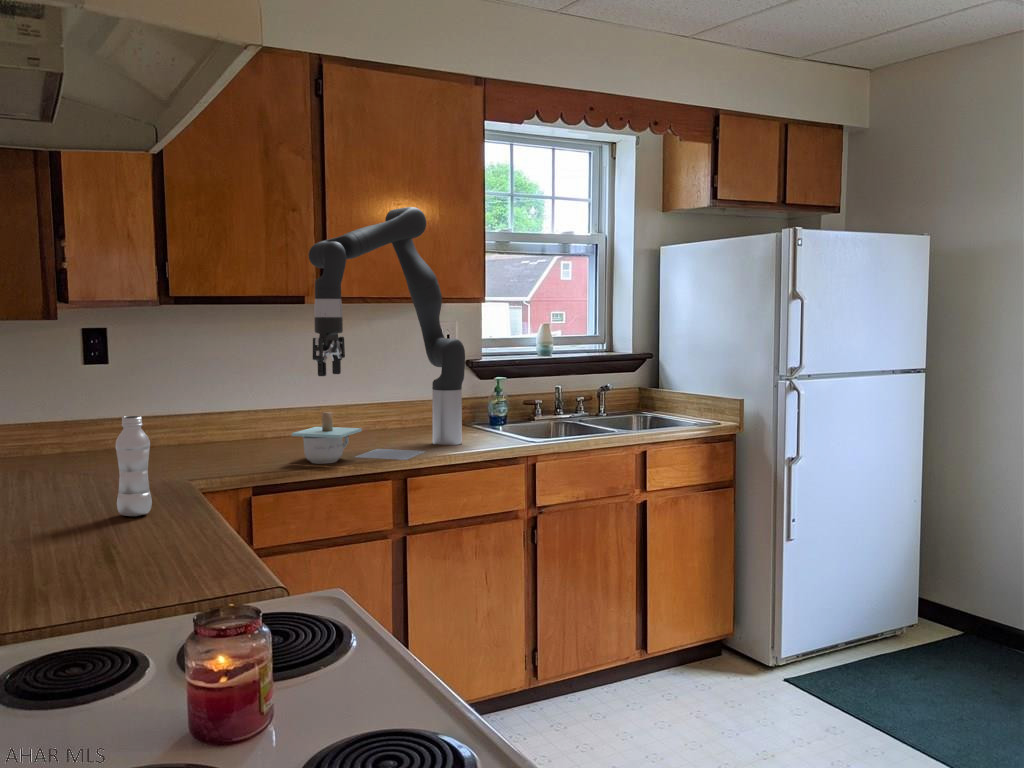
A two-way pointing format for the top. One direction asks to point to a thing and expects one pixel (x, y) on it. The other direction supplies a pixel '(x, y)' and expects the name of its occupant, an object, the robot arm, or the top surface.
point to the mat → (390, 454)
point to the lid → (327, 429)
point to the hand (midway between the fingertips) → (329, 375)
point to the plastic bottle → (133, 468)
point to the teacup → (324, 449)
